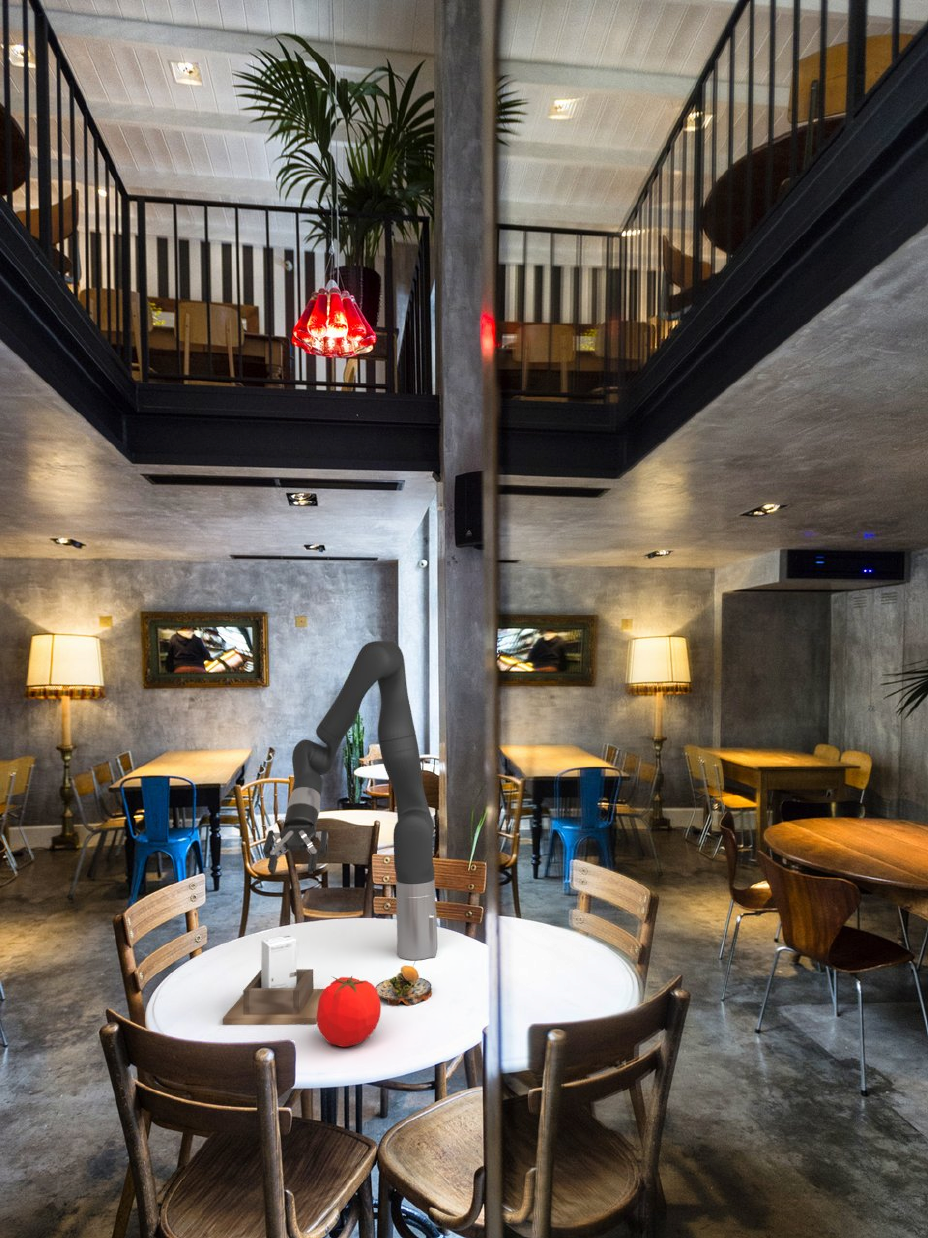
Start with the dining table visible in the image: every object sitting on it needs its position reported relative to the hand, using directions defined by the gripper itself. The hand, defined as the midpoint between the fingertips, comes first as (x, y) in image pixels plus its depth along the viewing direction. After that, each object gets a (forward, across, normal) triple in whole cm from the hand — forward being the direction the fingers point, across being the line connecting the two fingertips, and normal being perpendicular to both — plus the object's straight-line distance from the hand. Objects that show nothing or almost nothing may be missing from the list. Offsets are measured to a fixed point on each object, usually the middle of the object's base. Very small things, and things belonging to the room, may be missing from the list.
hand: (291, 872), depth 173 cm
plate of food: (+23, +26, +10) cm, 36 cm away
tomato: (+38, +18, -5) cm, 42 cm away
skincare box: (+26, +1, +5) cm, 27 cm away
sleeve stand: (+27, +2, +5) cm, 28 cm away
